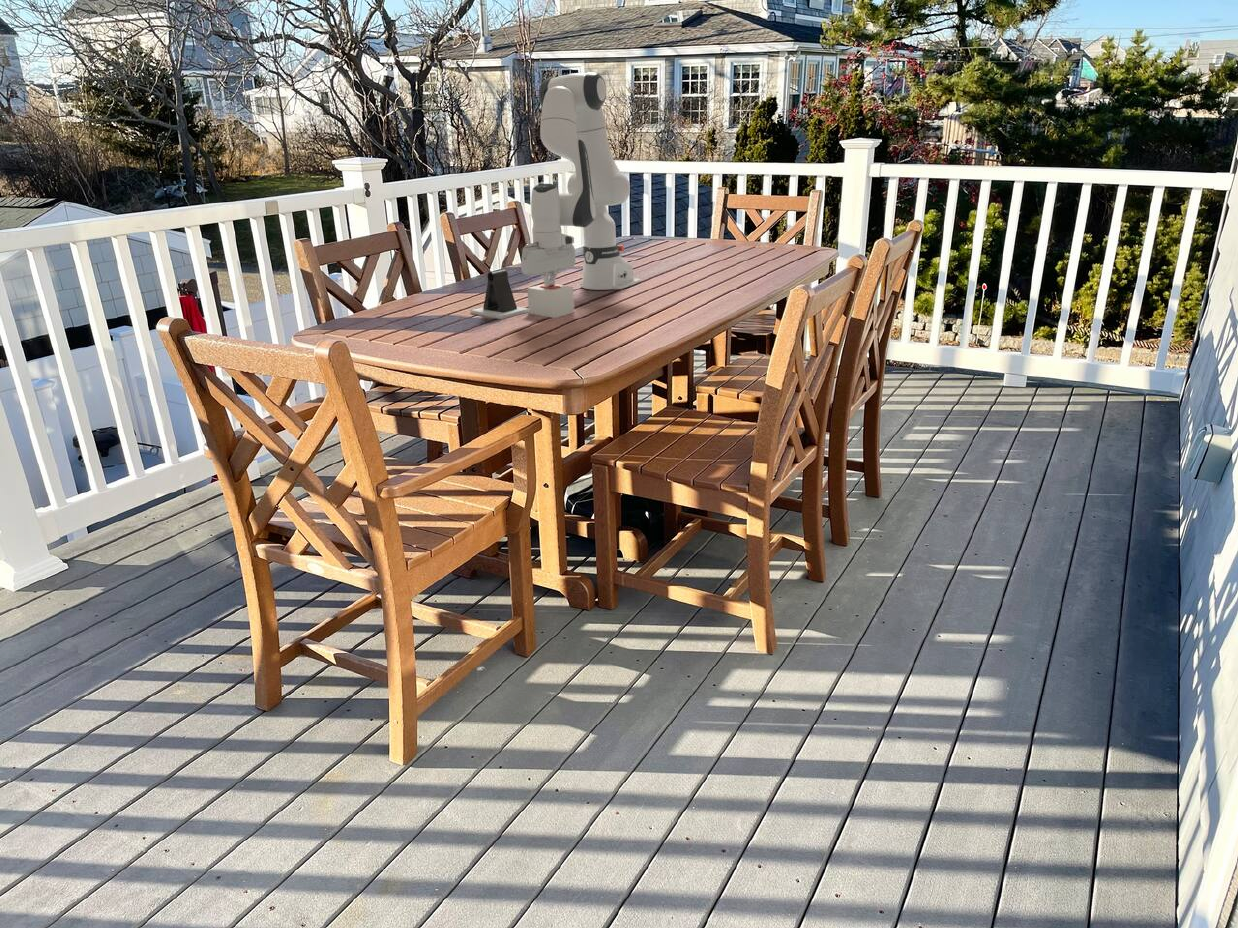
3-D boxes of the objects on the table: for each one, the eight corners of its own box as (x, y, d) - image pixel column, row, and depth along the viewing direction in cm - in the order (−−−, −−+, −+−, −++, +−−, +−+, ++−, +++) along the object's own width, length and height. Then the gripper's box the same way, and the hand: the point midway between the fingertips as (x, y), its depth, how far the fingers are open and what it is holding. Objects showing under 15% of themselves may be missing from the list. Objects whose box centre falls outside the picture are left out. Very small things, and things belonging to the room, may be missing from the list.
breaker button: (549, 293, 281) (548, 284, 280) (560, 295, 278) (560, 286, 277) (540, 295, 279) (540, 286, 278) (552, 297, 276) (551, 288, 275)
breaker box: (549, 308, 287) (548, 283, 284) (574, 312, 280) (573, 287, 277) (529, 313, 281) (527, 287, 278) (553, 318, 274) (552, 292, 271)
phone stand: (483, 309, 283) (480, 271, 279) (496, 305, 287) (493, 268, 283) (503, 312, 278) (500, 274, 273) (517, 309, 282) (514, 270, 278)
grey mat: (499, 306, 291) (499, 303, 291) (529, 311, 283) (528, 308, 282) (470, 313, 283) (470, 310, 283) (500, 319, 275) (500, 315, 274)
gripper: (529, 245, 263) (532, 292, 268) (577, 237, 277) (579, 282, 282) (515, 244, 267) (518, 290, 272) (563, 235, 281) (565, 279, 286)
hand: (549, 286), depth 277 cm, fingers closed, pressing on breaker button
